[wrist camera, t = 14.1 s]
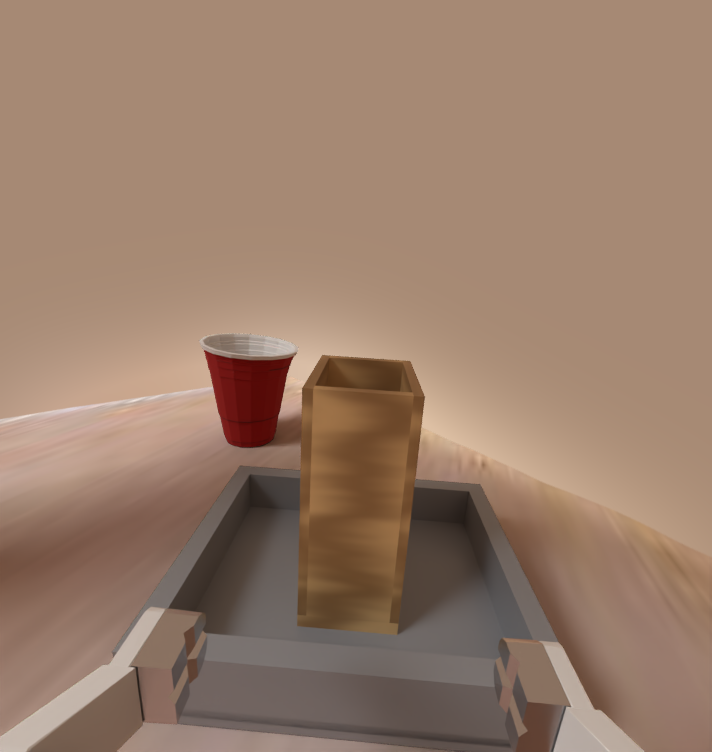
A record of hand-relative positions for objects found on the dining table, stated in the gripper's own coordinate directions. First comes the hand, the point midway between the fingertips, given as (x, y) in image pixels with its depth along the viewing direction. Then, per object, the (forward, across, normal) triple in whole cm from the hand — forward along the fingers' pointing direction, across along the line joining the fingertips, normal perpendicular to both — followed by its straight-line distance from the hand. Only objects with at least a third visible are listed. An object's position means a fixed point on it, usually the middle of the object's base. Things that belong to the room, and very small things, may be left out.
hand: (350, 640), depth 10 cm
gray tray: (+12, 0, +10) cm, 16 cm away
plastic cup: (+34, +13, +11) cm, 38 cm away
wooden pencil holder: (+12, 0, +10) cm, 15 cm away
